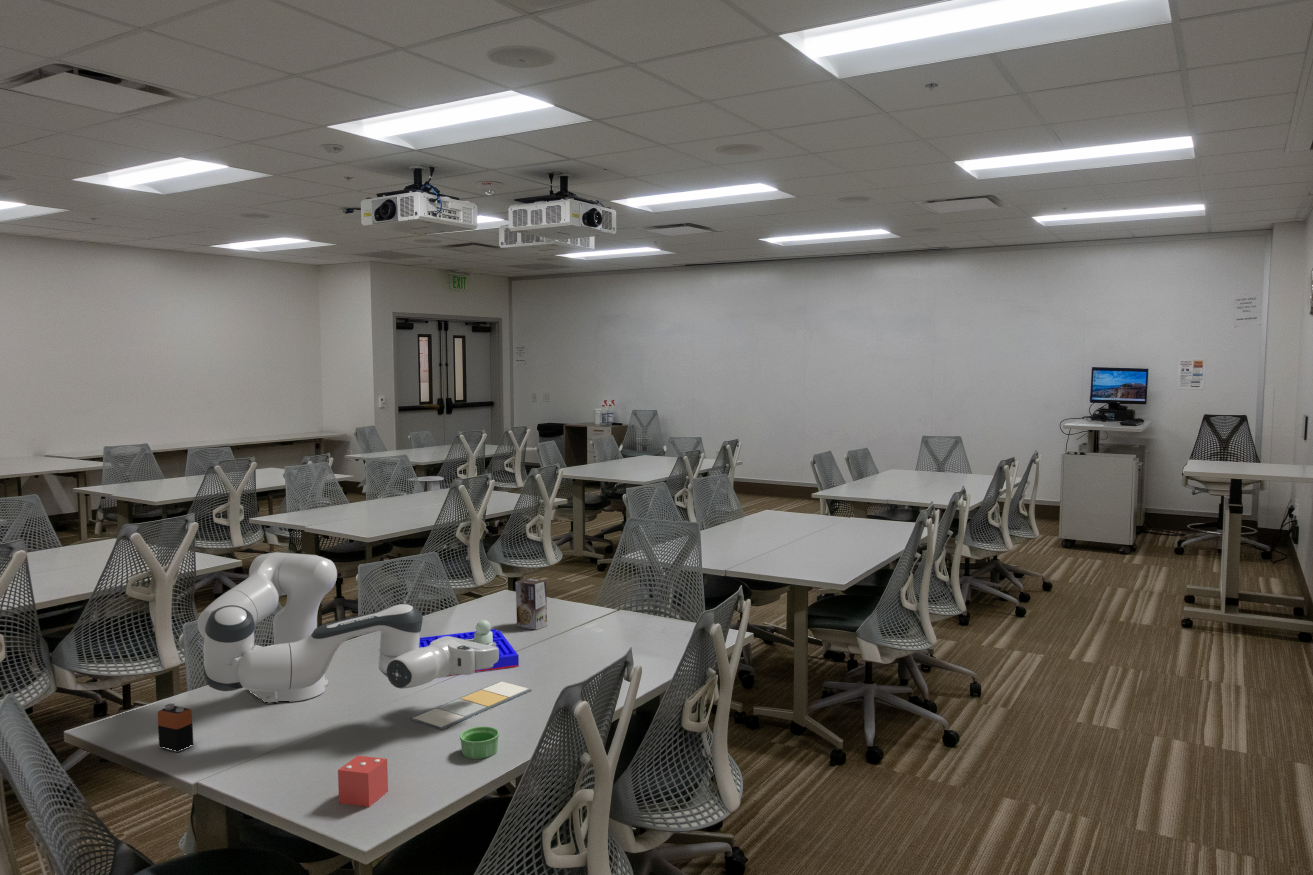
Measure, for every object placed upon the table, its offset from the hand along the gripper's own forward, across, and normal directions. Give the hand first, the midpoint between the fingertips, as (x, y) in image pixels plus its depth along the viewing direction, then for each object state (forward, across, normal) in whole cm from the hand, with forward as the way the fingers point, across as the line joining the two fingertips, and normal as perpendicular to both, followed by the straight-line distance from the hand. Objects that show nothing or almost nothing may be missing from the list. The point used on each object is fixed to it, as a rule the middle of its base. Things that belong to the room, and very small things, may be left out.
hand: (486, 643), depth 235 cm
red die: (-54, +19, -15) cm, 59 cm away
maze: (+20, -32, -16) cm, 41 cm away
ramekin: (-25, +23, -16) cm, 37 cm away
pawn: (-1, 0, -6) cm, 6 cm away
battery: (-63, -39, -16) cm, 76 cm away
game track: (-5, 0, -15) cm, 16 cm away
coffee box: (+58, -37, -16) cm, 71 cm away
